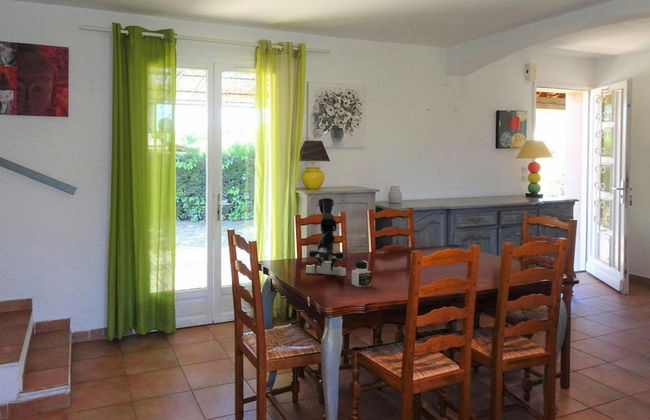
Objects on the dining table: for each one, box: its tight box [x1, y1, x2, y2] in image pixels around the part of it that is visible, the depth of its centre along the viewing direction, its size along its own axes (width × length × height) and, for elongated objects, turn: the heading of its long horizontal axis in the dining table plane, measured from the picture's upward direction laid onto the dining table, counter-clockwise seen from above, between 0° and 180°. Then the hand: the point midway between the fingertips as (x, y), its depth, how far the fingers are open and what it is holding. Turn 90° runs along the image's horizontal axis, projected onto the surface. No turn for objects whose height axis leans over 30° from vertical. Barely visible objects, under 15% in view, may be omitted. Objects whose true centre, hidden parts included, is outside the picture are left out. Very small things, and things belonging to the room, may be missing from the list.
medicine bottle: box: [351, 260, 372, 288], centre depth 265 cm, size 7×7×12 cm
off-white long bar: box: [305, 264, 347, 277], centre depth 289 cm, size 2×22×4 cm, turn 72°
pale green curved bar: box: [316, 265, 338, 276], centre depth 288 cm, size 12×2×4 cm, turn 72°
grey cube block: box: [320, 260, 333, 275], centre depth 283 cm, size 6×5×6 cm
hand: (327, 270), depth 284 cm, fingers closed on grey cube block, 5 cm apart
